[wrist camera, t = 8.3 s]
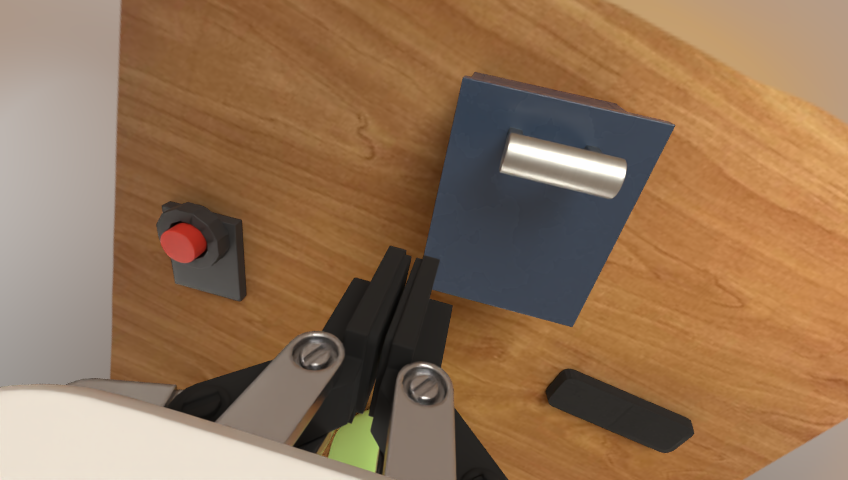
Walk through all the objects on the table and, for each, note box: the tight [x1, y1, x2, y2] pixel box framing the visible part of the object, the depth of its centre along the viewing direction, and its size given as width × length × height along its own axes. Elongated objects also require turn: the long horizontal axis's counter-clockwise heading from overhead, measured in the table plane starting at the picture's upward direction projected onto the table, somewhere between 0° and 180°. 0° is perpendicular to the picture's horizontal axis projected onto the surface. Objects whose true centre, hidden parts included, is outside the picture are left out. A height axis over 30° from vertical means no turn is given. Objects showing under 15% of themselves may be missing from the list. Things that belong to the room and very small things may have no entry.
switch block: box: [156, 201, 246, 301], centre depth 41 cm, size 11×8×3 cm
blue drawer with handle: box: [424, 76, 675, 327], centre depth 21 cm, size 13×11×5 cm
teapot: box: [328, 409, 379, 473], centre depth 46 cm, size 20×13×13 cm
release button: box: [160, 223, 207, 263], centre depth 38 cm, size 4×4×2 cm
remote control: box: [546, 369, 694, 453], centre depth 42 cm, size 5×2×15 cm
